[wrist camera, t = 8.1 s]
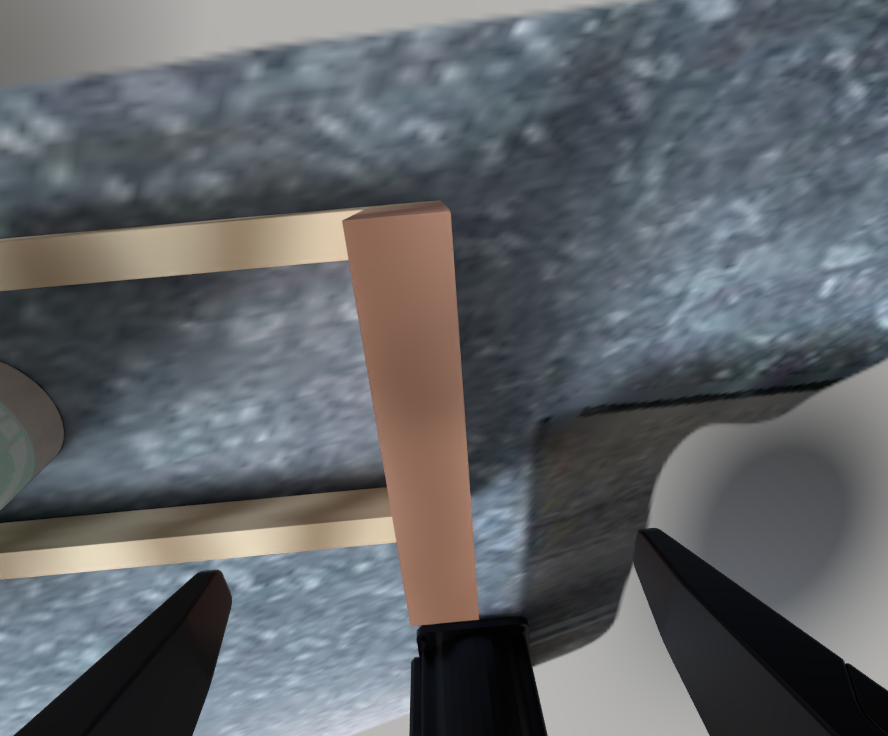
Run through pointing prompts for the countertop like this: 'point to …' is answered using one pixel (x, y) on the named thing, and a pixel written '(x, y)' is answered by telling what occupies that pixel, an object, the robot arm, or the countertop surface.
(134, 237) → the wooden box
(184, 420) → the countertop surface
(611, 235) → the countertop surface
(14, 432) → the coffee cup
